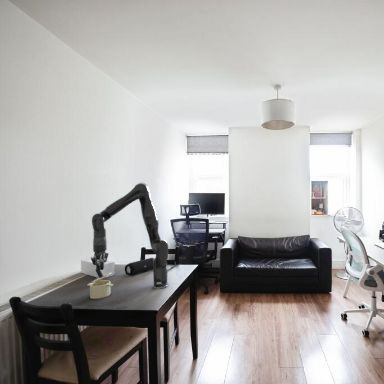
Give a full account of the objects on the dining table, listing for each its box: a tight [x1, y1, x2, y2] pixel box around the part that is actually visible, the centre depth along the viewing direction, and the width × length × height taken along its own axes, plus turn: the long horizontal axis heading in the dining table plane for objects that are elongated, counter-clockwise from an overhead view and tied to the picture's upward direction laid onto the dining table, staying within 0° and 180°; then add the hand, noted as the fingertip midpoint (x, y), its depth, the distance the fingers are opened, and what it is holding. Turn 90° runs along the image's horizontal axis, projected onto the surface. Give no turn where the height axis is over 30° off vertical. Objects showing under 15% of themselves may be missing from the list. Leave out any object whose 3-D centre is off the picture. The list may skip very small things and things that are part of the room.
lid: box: [90, 269, 112, 283], centre depth 172 cm, size 12×12×7 cm
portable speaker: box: [124, 257, 155, 276], centre depth 224 cm, size 26×10×10 cm, turn 148°
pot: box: [87, 279, 114, 300], centre depth 172 cm, size 11×17×8 cm
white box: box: [80, 257, 115, 279], centre depth 221 cm, size 32×11×11 cm, turn 58°
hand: (100, 270), depth 172 cm, fingers closed on lid, 2 cm apart
